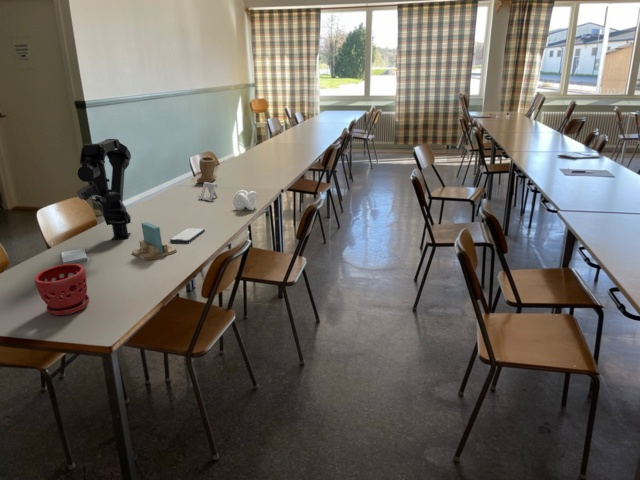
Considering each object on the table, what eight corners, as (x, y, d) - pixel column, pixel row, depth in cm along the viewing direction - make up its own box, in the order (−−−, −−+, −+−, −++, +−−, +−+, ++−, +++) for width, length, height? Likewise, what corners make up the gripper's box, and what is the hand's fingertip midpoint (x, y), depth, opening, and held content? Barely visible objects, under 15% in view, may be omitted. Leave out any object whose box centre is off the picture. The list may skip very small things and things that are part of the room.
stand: (132, 253, 186) (130, 243, 184) (160, 244, 194) (159, 235, 192) (147, 261, 178) (146, 251, 176) (176, 251, 186) (175, 242, 184)
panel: (145, 247, 188) (141, 223, 184) (150, 246, 189) (146, 221, 186) (158, 253, 181) (154, 228, 178) (163, 252, 183) (159, 227, 179)
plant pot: (66, 296, 152) (58, 261, 148) (101, 301, 148) (94, 265, 144) (32, 316, 140) (22, 278, 136) (69, 321, 137) (60, 283, 133)
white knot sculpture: (260, 211, 234) (258, 193, 231) (235, 213, 232) (233, 195, 229) (257, 205, 245) (255, 188, 242) (233, 207, 242) (231, 190, 239)
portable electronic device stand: (198, 199, 258) (196, 184, 256) (209, 196, 264) (207, 181, 262) (209, 201, 254) (207, 186, 251) (220, 198, 260) (219, 183, 257)
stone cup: (213, 184, 291) (210, 159, 286) (194, 184, 293) (191, 159, 287) (221, 178, 305) (219, 154, 300) (203, 178, 307) (200, 154, 301)
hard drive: (87, 257, 180) (83, 247, 190) (62, 262, 176) (60, 252, 186) (88, 261, 181) (84, 251, 191) (63, 266, 177) (61, 256, 187)
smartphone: (187, 231, 211) (169, 243, 196) (187, 227, 211) (168, 239, 196) (206, 232, 209) (189, 244, 194) (205, 228, 209) (188, 240, 194)
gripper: (65, 178, 183) (73, 218, 188) (90, 182, 172) (97, 225, 177) (93, 173, 191) (100, 211, 196) (119, 177, 180) (125, 218, 185)
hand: (105, 216), depth 188 cm, fingers closed
